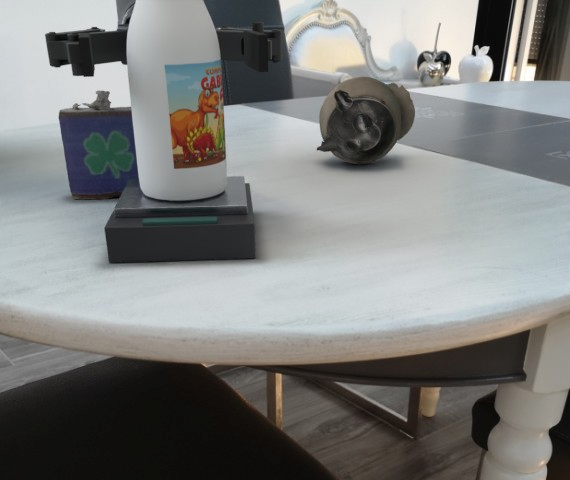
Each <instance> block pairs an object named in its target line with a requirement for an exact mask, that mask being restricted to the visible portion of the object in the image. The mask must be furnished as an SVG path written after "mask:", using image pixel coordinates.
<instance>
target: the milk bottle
mask: <svg viewBox="0 0 570 480" xmlns="http://www.w3.org/2000/svg"><path fill="white" fill-rule="evenodd" d="M126 66H127V78H128V89H129V99H130V107H131V110H132V120H133V129H134V138H135V148H136V157H137V166H138V175H139V182H140V188H141V190H142V191H143V193H144V194H145V195H146V196H149V197H152V198H156V199H162V200H195V199H202V198H207V197H212V196H215V195H218V194H220V193H222V192H223V191H224V190H225V188H226V185H227V177H228V173H227V172H228V170H227V169H228V168H227V150H226V149H227V147H226V128H225V127H226V126H225V106H224V87H223V70H222V60H221V57H220V49H219V42H218V38H217V34H216V26H215V24H214V22H213V20H212V17H211V14H210V13H209V11H208V8H207V5H206V4H205V1H204V0H136V2H135V6H134V9H133V12H132V16H131V19H130V23H129V27H128V33H127V65H126Z"/></svg>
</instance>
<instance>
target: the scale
mask: <svg viewBox="0 0 570 480" xmlns="http://www.w3.org/2000/svg"><path fill="white" fill-rule="evenodd" d="M245 188H246V198H247V214H243V215H206V216H168V217H131V218H115V213H114V209H113V210H112V212H111V214H110V216H109V218H108V220H107V222H106V224H105V226H104V236H105V244H106V250H107V258H108V263H109V264H116V263H117V264H118V263H144V262H146V263H147V262H148V263H149V262H175V261H176V262H177V261H178V262H181V261H210V260H211V261H212V260H243V259H256V231H255V230H256V229H255V228H256V225H255V216H254V208H253V199H252V192H251V183H250V182H245Z"/></svg>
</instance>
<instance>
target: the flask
mask: <svg viewBox="0 0 570 480" xmlns="http://www.w3.org/2000/svg"><path fill="white" fill-rule="evenodd" d="M95 94H96V98H95V100H94V101H93V102H91V103H88V102H82V103H81V104H80V103H78V102H75V103H74V104H73V105H72V106H71V107H68V108H66V107H65V108H63V109H62V108H61V109H59V111H58V122H59V128H60V135H61V141H62V147H63V153H64V159H65V168H66V173H67V181H68V186H69V191H70V194H71V198H72V199H74V200H75V199H77V200H97V199H109V198H115V197H118V198H120V196H121V194H122V192H123V190H124V188H125V186H126V185H127V183H128V181H129V179H139V175H138V166H137V157H136V148H135V138H134V129H133V120H132V110H131V106H116V107H111V104H112V101H111V100H109V97H110V94H111V92H110V91H109V90H95ZM82 105H83V106H86V107H81V106H82Z"/></svg>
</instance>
